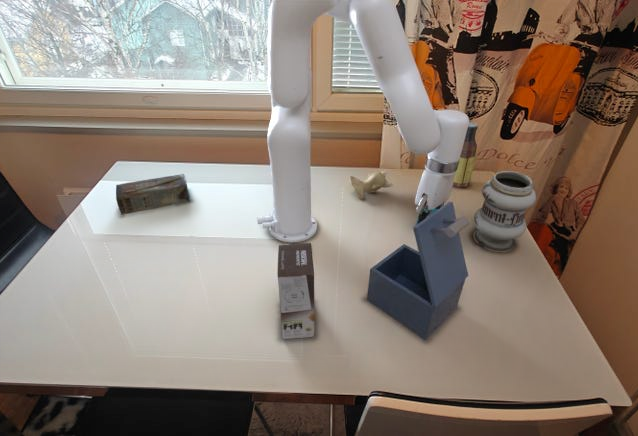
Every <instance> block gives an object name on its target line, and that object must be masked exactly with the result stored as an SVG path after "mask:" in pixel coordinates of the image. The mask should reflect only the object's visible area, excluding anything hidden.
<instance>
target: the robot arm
mask: <svg viewBox="0 0 638 436" xmlns="http://www.w3.org/2000/svg"><path fill="white" fill-rule="evenodd" d="M323 15H327V16H329V17H331V18H334V19H336V20H338V21H341V22H343V23H346V24H348V25H351V26H353V27H354V29H355V32H356V34H357V37H358V40H359V42H360V44H361V47H362V50H363V51H364V54H365V56H366V58H367V61H368V63H369V66H370V68H371V71H372V74H373V77H374V78H375V80H376V83H377V86H378V87H379V90H380V91H381V92H382V94H383V96H384V98H385V99H386V101H387V103H388V106H389V107H390V109H391V111H392V113H393V115H394V118H395V121H396V125H397V126H396V127H397V130H398V132H399V134H400V136H401V137H402V140H403V141H404V144H405V146H406V148H407V149H408V150H409V151H410V152H411V153H412V154H415V155H417V156H418V155H419V156H424V155H426V158H425V163H424V168H425V169H423V172H422V175H421V177H420V179H419V182H418V186H417V191H416V194H415V199H414V204H415V205H417V207H416V209H415V213H416V214H417V216H418V215H419V218H418V217H417V219H418V223H417V222H416V223H417V224H419V223H420V222H422V221H423V220H424V219H426V218H427V217H429V216H430V215H431V213H432V210H433V209H434V208H436V209H440V208H441V207H443V206H444V205H445V204H446V202H447V200H449V199H450V197H451V195H452V190H453V188H454V187H453V182H454V177H455V173H456V172H457V168H458V164H459V160H460V156H461V152H462V148H463V144H464V140H465V136H466V132H467V129H468V124H469V122H470V118H469V116H468V115H467V114H466V113H465V112H463V111H461V110H456V109H443V110H438V109H434V108H433V105H432V102H431V100H430V97H429V95H428V93H427V90H426V87H425V85H424V82H423V79H422V75H421V73H420V71H419V67H418V66H417V63H416V60H415V57H414V55H413V52H412V50H411V47H410V43H409V41H408V38H407V35H406V32H405V29H404V27H403V23H402V21H401V18H400V15H399V12H398V8H397V6H396V4H395V2H394V0H271V3H270V6H269V10H268V19H267V64H268V65H267V66H268V67H267V68H268V69H267V71H268V73H267V87H268V93H269V95H270V97H271V99H270V100H271V118H270V121H269V123H268V124H269V125H268V129H267V139H266V140H267V149H268V157H269V164H270V175H271V177H270V178H271V187H272V198H273V199H272V200H273V210H272V214H268V216H267V215H266V216H257V217H256V220H257V225H262V229H269V233H270V235H271V236H272V237H273V238H274V239H276V240H278V241H281V242H284V243H302V242H304V241H307V240H309V239H311V238H312V237H313V236H315V234H316V233H317V231H318V223H317V220H316V219H315V218H314V217H313V216H312V181H311V180H312V178H311V177H312V176H311V175H312V174H311V172H312V170H311V148H312V147H311V146H312V145H311V143H312V137H311V135H312V134H311V133H312V131H311V108H312V107H311V104H312V84H313V83H312V81H313V78H312V77H313V76H312V74H313V72H312V69H311V45H312V30H313V26H314V24H315V22H316V21H317V20H318V19H319V18H320V17H322V16H323ZM424 208H425V209H427V210H428V213H426V212H425V211H424Z"/></svg>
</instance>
